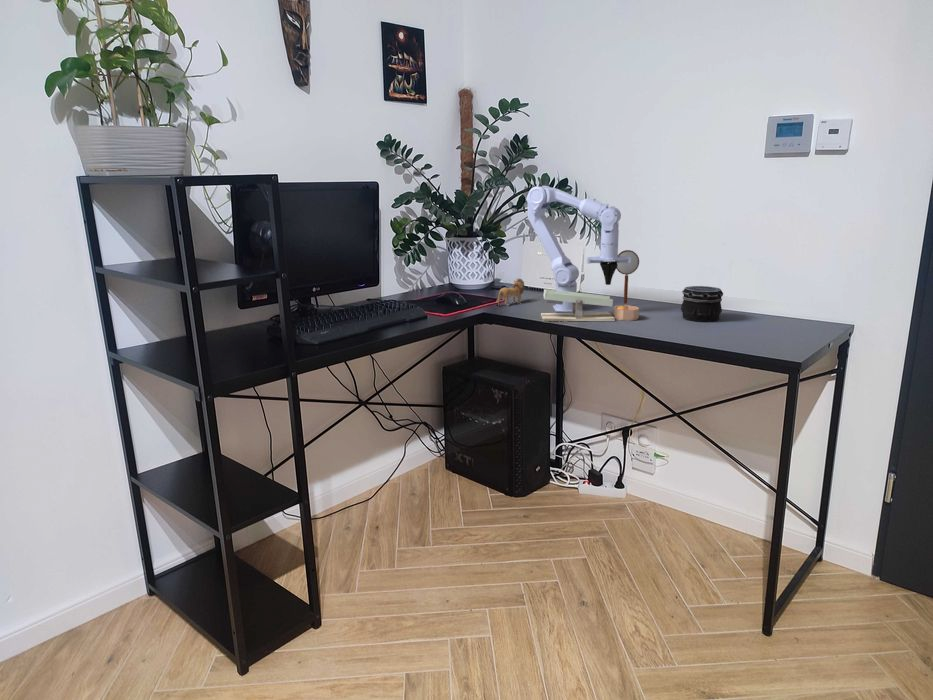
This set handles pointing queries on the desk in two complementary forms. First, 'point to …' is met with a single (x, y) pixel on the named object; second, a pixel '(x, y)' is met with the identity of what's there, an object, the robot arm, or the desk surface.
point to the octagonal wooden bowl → (626, 313)
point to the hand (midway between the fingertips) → (607, 284)
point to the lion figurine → (512, 292)
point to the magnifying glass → (628, 268)
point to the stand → (577, 315)
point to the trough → (576, 298)
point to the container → (701, 303)
